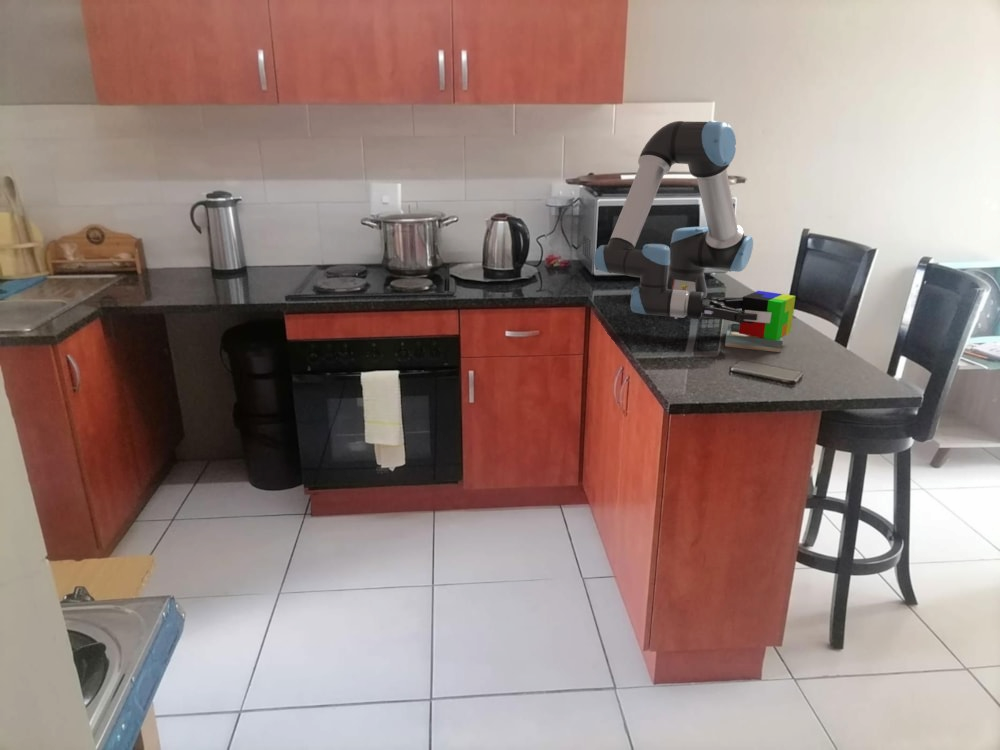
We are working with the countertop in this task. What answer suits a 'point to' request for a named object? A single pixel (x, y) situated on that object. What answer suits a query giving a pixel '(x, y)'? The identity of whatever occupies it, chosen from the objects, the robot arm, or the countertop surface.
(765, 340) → the shallow tray
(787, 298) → the puzzle toy
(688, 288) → the tea bag
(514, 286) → the countertop surface
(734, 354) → the countertop surface
